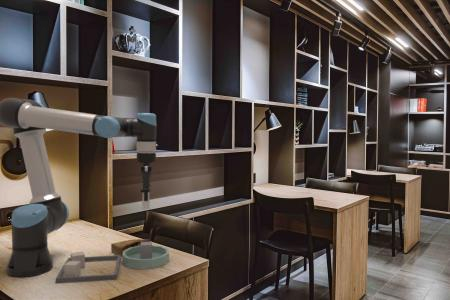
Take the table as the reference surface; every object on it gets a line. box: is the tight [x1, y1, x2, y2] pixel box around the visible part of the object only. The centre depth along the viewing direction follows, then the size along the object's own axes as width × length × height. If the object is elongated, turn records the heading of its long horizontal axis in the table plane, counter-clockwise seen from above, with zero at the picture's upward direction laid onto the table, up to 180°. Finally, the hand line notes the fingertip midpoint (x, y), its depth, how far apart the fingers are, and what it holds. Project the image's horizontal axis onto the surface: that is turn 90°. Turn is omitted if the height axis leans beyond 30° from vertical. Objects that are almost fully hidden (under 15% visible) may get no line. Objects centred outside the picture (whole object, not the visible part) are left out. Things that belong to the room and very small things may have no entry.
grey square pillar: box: [141, 241, 153, 259], centre depth 151 cm, size 4×4×6 cm
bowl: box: [121, 244, 170, 270], centre depth 151 cm, size 18×18×4 cm
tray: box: [55, 254, 122, 284], centre depth 141 cm, size 20×21×2 cm
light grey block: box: [63, 261, 82, 277], centre depth 134 cm, size 4×4×5 cm
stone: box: [110, 238, 151, 258], centre depth 162 cm, size 15×9×5 cm, turn 124°
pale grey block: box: [70, 250, 86, 269], centre depth 144 cm, size 4×4×5 cm
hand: (145, 205), depth 150 cm, fingers open, 13 cm apart
